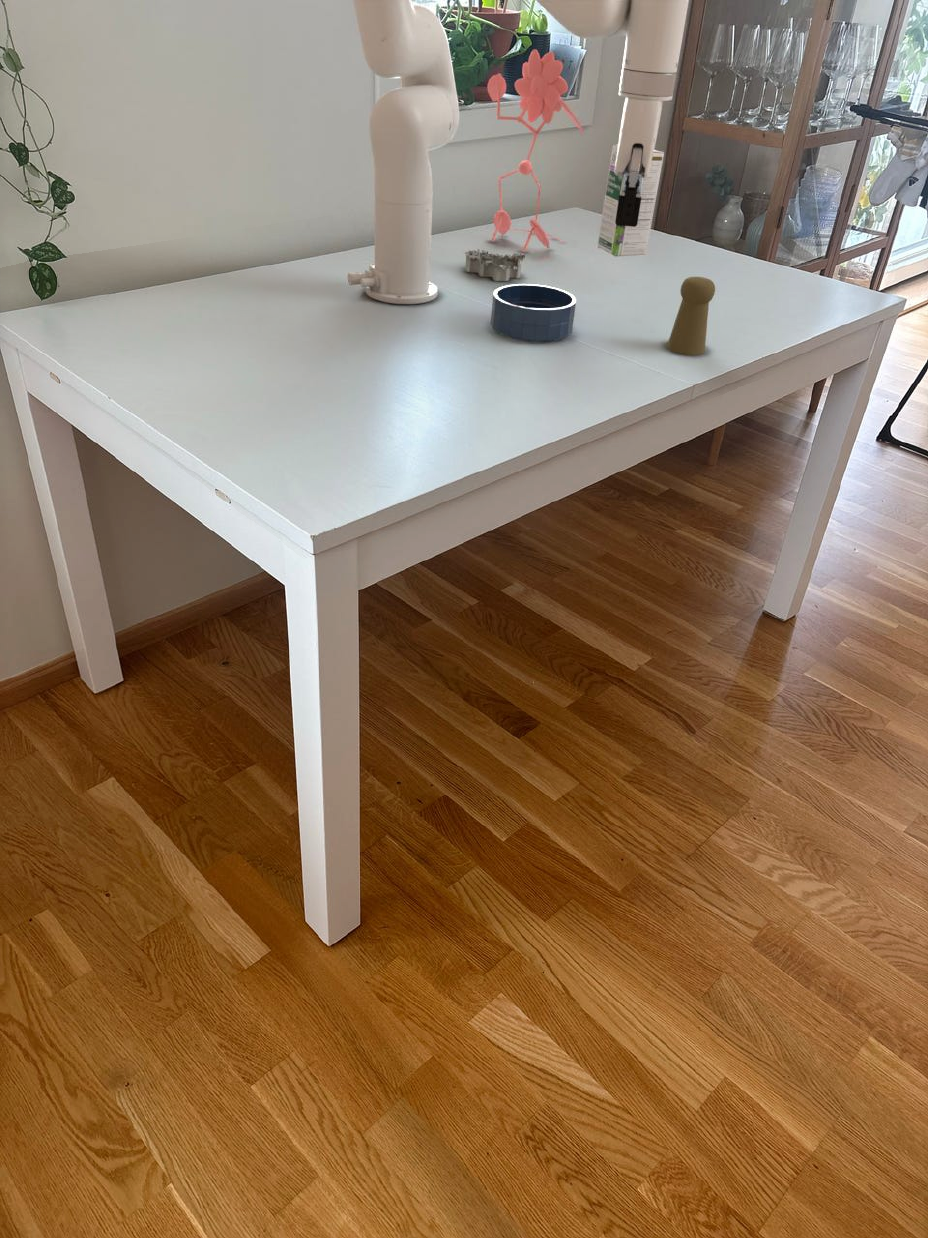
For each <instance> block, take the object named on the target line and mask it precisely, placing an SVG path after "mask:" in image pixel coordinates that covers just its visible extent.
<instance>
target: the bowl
mask: <svg viewBox="0 0 928 1238" xmlns="http://www.w3.org/2000/svg"><path fill="white" fill-rule="evenodd" d="M491 303H492V304H491V315H490V316H491V318H490V325H491V327H492V329H493V330H495V331H496V332H497V333H499V334H501V335H504V336H505V337H508V338H511V339H513V340H517V341H523V342H531V343H548V342H553V341H557V340H558V341H559V340H562V339H565V338H567V337H569V336H570V335H571V334H572V332H573V327H574V321H575V320H574V319H575V313H576V305H577V298H576V297H575V296H574V294H572V293H570V292H568V291H566V290H563V289H561V288H557V287H554V286H553V287H552V286H548V285H542V284H531V283H528V284H527V283H517V284H508V285H504V286H501V287H498V288H496V289H495V290H494V291H493V294H492V302H491Z"/></svg>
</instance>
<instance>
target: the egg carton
mask: <svg viewBox="0 0 928 1238" xmlns="http://www.w3.org/2000/svg"><path fill="white" fill-rule="evenodd" d="M462 252H463V253H464V254H465V272H467V273H477V274H478V276H479V277H483V278H485V277H488V278H492V280H493V281H494V282H509V281H510V279H520V278H521V271H522V264H521V262H523V261H524V259H526V255H525V254H523V253H518V252H517V253H512V255H511V254H508V253H506V254H505V255H503V254H501V253H495V252H494V253H492V252H491V253H489V251H487V250H485V249H482V250H481V251H480V249H479V248H478V249H476V250H473V249H472V250H471V249H469V250H467V251H465V250H462Z"/></svg>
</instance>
